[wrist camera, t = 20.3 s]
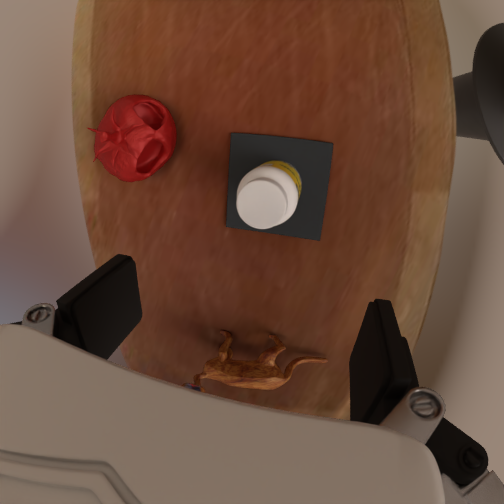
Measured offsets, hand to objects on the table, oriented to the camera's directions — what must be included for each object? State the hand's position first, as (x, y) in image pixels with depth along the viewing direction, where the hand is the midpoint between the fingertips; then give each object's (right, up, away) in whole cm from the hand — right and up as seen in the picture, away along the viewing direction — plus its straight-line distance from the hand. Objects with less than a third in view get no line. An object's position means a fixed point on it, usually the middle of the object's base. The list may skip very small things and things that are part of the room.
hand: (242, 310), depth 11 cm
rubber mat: (+3, +9, +21) cm, 23 cm away
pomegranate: (-12, +17, +22) cm, 30 cm away
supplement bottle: (+3, +10, +21) cm, 23 cm away
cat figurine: (+3, -11, +31) cm, 33 cm away
